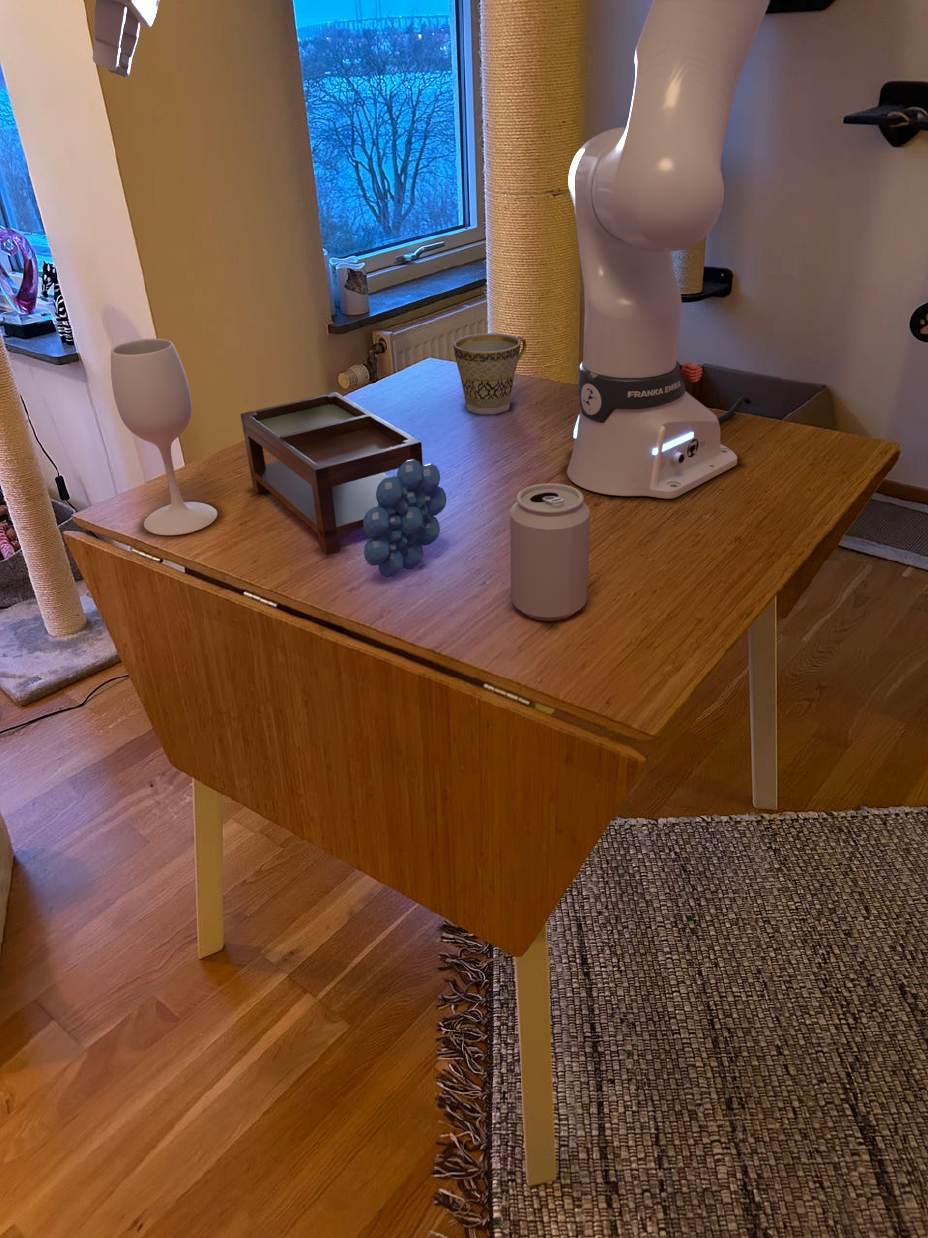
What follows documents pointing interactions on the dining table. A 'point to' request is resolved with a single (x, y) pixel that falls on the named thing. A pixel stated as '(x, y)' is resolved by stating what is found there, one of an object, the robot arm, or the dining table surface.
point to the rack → (325, 460)
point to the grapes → (404, 518)
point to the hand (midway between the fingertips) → (111, 71)
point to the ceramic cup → (488, 370)
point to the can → (549, 551)
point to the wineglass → (158, 420)
